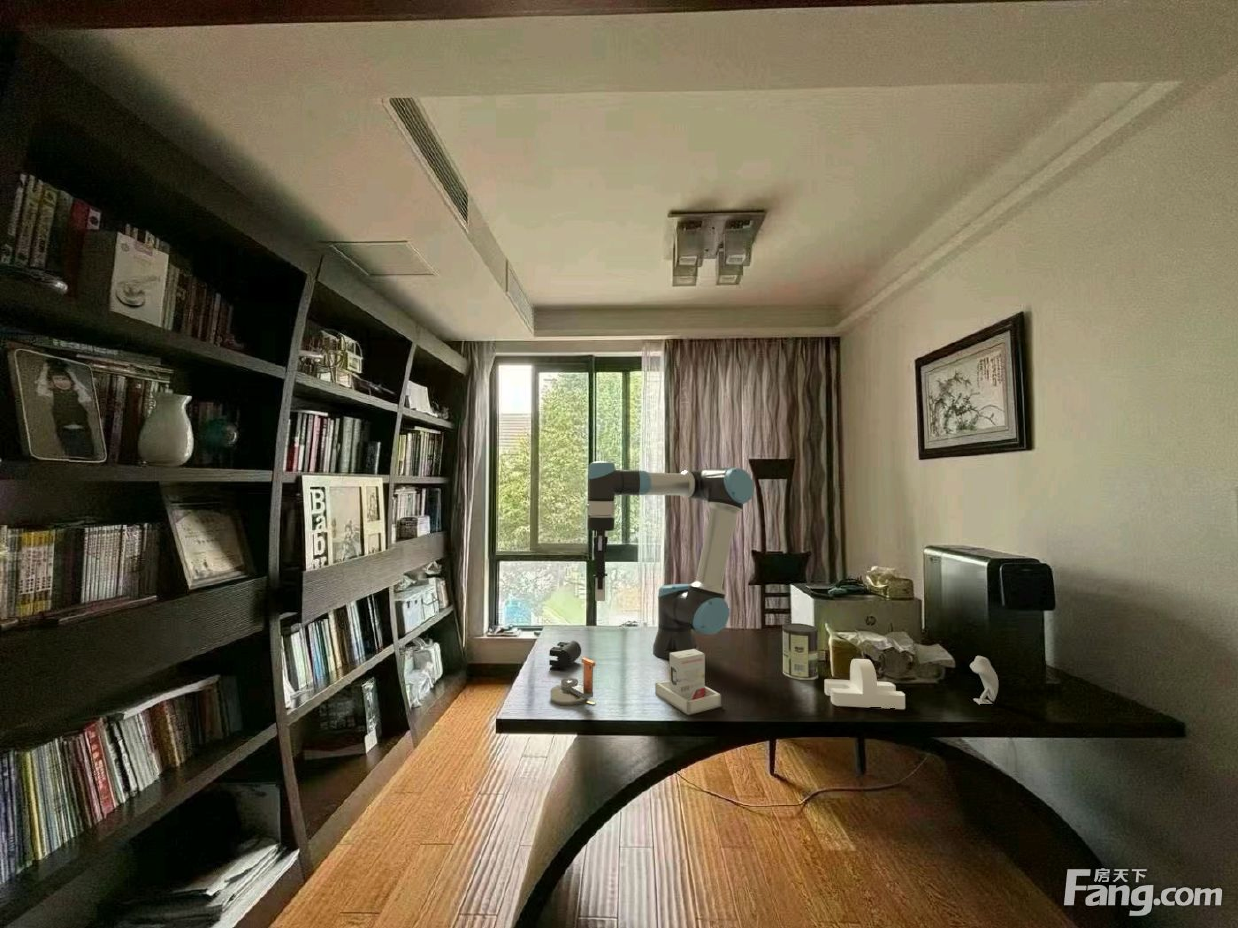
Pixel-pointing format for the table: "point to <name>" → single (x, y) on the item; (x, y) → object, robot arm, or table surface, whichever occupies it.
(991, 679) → the figurine
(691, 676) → the ink box
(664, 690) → the tray
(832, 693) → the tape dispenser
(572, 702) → the crank housing
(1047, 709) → the table surface
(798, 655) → the coffee can
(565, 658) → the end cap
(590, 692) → the crank
